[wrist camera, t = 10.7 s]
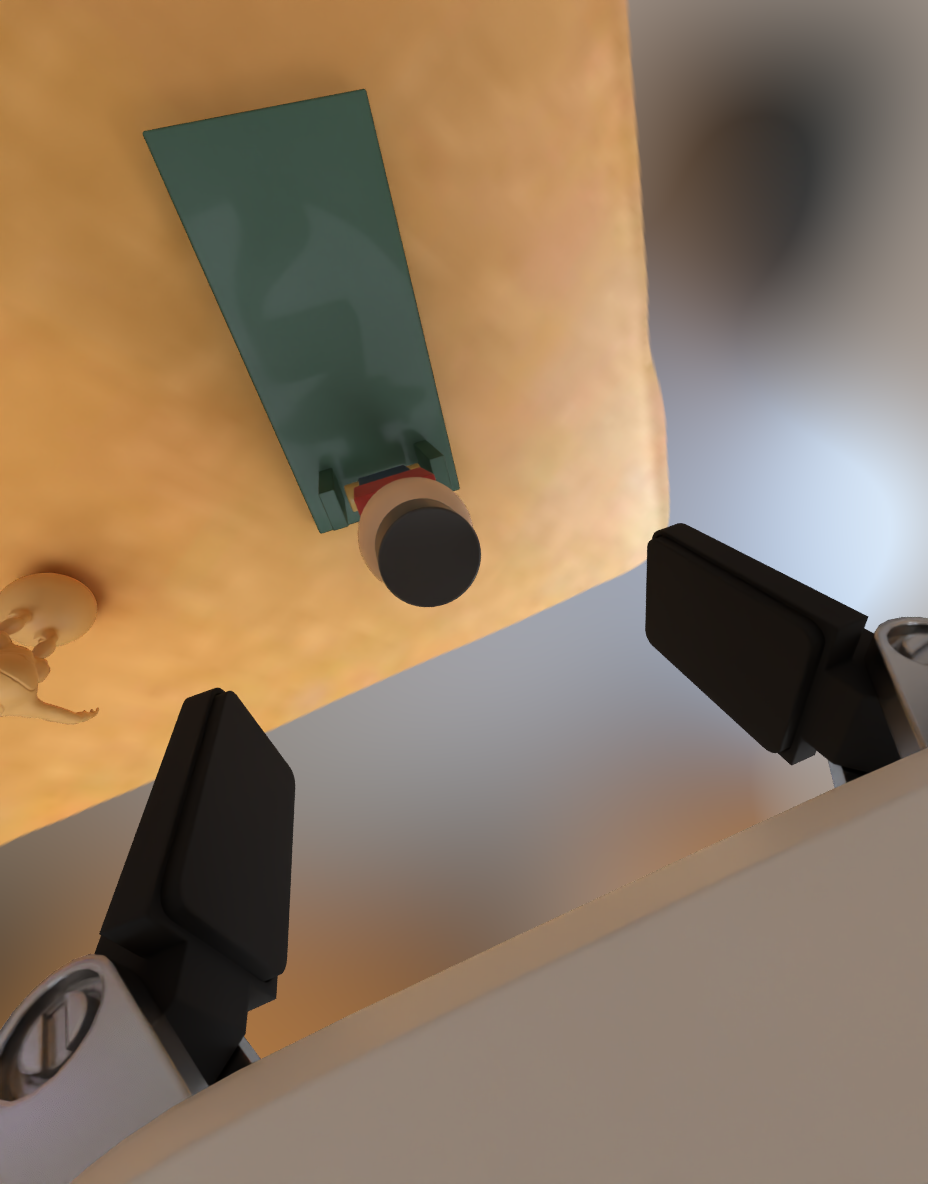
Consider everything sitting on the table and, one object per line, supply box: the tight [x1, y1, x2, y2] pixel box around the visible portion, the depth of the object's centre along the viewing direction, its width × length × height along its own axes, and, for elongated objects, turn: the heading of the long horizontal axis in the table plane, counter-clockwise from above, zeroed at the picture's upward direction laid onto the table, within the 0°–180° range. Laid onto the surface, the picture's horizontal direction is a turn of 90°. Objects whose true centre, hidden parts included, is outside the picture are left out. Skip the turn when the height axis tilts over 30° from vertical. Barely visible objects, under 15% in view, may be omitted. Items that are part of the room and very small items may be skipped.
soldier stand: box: [143, 89, 460, 533], centre depth 21 cm, size 18×9×6 cm, turn 12°
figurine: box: [0, 573, 99, 724], centre depth 20 cm, size 8×6×12 cm
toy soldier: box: [344, 463, 481, 607], centre depth 16 cm, size 14×4×3 cm
